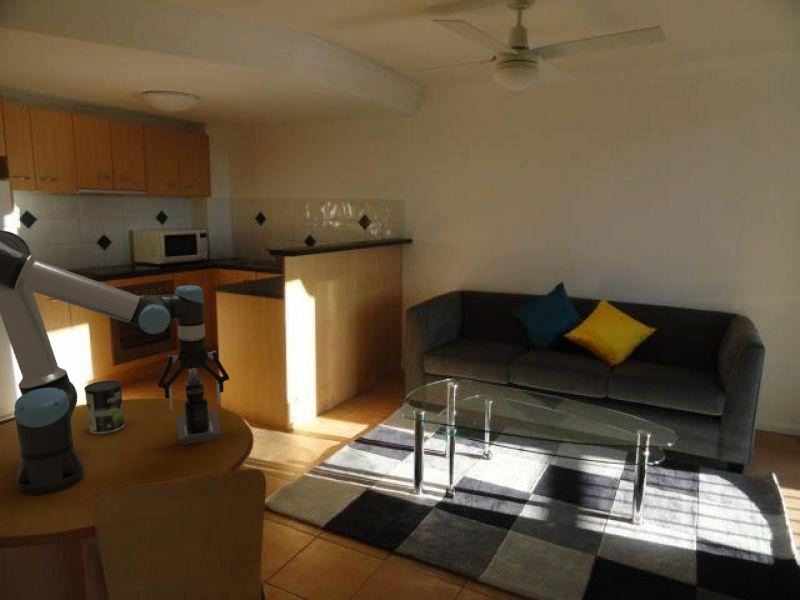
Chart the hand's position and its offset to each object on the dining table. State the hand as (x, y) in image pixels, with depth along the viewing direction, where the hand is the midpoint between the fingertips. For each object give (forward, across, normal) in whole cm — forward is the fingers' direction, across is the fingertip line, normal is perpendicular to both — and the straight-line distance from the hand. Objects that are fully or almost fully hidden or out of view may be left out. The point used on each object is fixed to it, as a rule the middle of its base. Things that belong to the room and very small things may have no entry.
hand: (195, 405), depth 175 cm
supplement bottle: (+8, 0, 0) cm, 8 cm away
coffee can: (+11, +26, -18) cm, 33 cm away
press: (+10, -1, -4) cm, 11 cm away
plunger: (+1, -1, -10) cm, 10 cm away
